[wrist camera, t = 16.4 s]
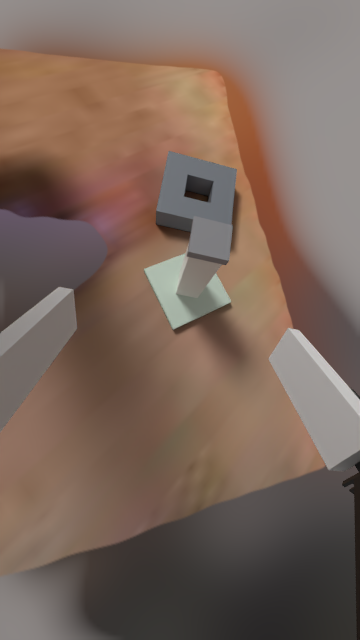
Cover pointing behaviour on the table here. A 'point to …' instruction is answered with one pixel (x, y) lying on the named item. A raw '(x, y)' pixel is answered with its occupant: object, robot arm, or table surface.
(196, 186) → the grey square socket block
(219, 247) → the plug
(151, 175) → the table surface
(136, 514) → the table surface
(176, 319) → the pad
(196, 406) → the table surface
